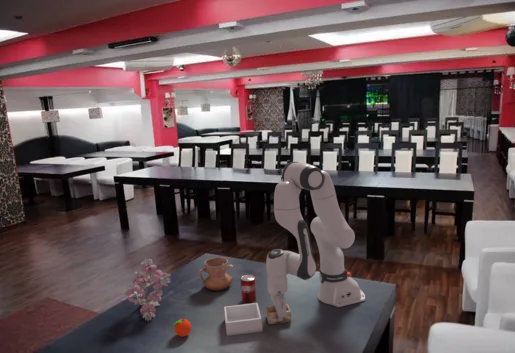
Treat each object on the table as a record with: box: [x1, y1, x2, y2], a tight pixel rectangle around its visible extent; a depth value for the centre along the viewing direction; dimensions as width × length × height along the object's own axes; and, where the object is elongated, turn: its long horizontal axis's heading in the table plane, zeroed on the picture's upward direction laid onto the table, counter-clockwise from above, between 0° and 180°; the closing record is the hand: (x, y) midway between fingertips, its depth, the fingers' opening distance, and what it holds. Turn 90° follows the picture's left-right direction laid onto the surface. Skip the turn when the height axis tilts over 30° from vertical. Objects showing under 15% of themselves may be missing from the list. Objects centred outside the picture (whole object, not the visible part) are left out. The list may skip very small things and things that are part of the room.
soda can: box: [240, 274, 257, 304], centre depth 188 cm, size 7×7×12 cm
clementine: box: [171, 318, 192, 338], centre depth 163 cm, size 8×7×7 cm
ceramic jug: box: [198, 256, 233, 291], centre depth 203 cm, size 18×14×14 cm
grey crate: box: [223, 302, 263, 337], centre depth 168 cm, size 15×13×6 cm
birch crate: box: [265, 303, 292, 325], centre depth 172 cm, size 10×6×5 cm, turn 98°
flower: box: [122, 257, 173, 322], centre depth 182 cm, size 20×22×25 cm
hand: (278, 315), depth 172 cm, fingers closed on birch crate, 6 cm apart
